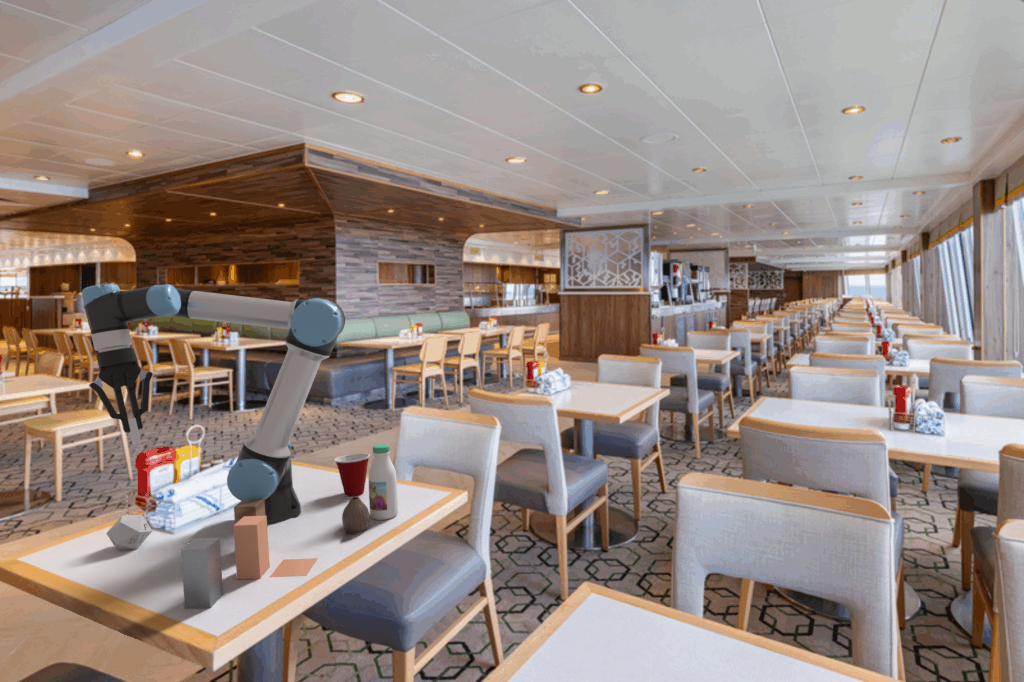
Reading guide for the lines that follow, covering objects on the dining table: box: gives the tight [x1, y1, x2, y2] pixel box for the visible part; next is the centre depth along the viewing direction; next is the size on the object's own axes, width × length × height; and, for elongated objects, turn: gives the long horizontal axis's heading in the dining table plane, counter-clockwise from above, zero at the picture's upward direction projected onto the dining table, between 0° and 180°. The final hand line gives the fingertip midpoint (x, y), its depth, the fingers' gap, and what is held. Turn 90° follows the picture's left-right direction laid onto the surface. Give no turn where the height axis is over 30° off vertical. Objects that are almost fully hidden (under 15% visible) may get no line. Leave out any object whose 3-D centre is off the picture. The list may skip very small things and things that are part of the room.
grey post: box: [180, 537, 224, 610], centre depth 110 cm, size 5×5×12 cm
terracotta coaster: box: [269, 557, 319, 578], centre depth 124 cm, size 8×8×1 cm
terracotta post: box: [233, 516, 271, 580], centre depth 122 cm, size 5×5×12 cm
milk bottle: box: [368, 443, 399, 521], centre depth 154 cm, size 8×8×20 cm
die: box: [106, 514, 153, 551], centre depth 139 cm, size 8×9×10 cm
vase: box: [341, 496, 370, 535], centre depth 145 cm, size 7×7×9 cm
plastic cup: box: [333, 453, 371, 498], centre depth 173 cm, size 11×11×12 cm
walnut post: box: [233, 499, 265, 525], centre depth 132 cm, size 5×5×12 cm
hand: (136, 443), depth 135 cm, fingers closed
